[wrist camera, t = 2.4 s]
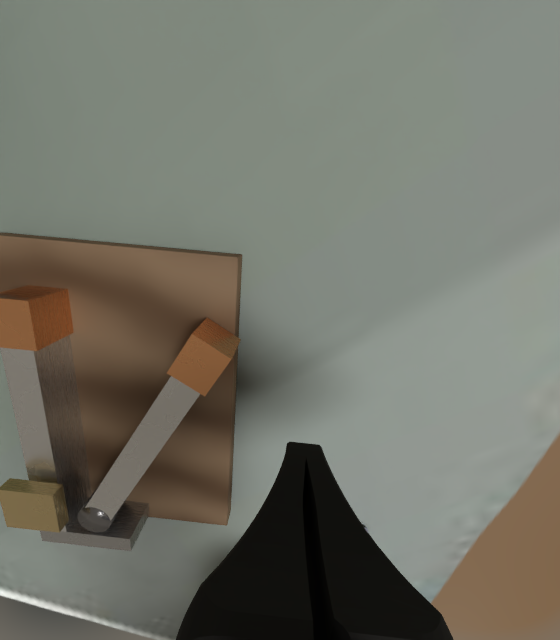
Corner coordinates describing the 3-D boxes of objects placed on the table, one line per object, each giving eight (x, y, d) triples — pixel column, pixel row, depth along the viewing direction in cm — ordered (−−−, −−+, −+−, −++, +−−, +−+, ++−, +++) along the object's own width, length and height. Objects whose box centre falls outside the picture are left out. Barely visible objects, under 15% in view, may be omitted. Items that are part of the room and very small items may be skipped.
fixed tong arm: (149, 514, 26) (130, 552, 23) (66, 504, 26) (37, 541, 23) (135, 295, 20) (106, 308, 17) (28, 285, 20) (-19, 296, 17)
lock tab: (69, 520, 21) (59, 532, 21) (18, 514, 22) (6, 526, 21) (62, 484, 20) (52, 495, 20) (9, 478, 21) (-3, 489, 20)
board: (230, 509, 27) (226, 525, 26) (51, 489, 27) (38, 504, 26) (242, 254, 20) (237, 257, 19) (2, 232, 20) (-20, 233, 19)
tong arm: (124, 503, 25) (102, 539, 22) (95, 487, 25) (70, 522, 22) (240, 339, 20) (231, 359, 17) (207, 317, 20) (191, 333, 17)
